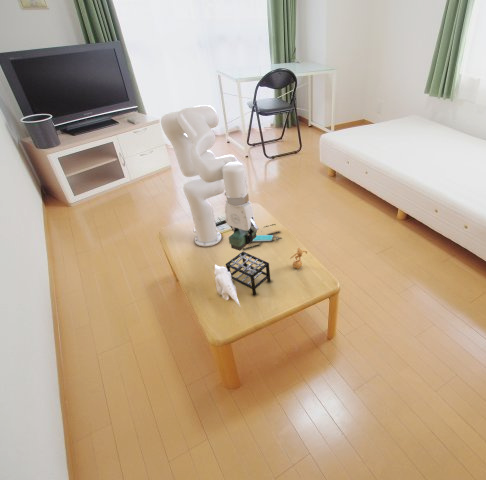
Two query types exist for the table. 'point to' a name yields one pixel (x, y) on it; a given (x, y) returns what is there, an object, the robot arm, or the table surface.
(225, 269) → the dinosaur statue
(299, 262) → the figurine
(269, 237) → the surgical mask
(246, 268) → the rack
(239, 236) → the teal sanding sponge
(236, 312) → the table surface
